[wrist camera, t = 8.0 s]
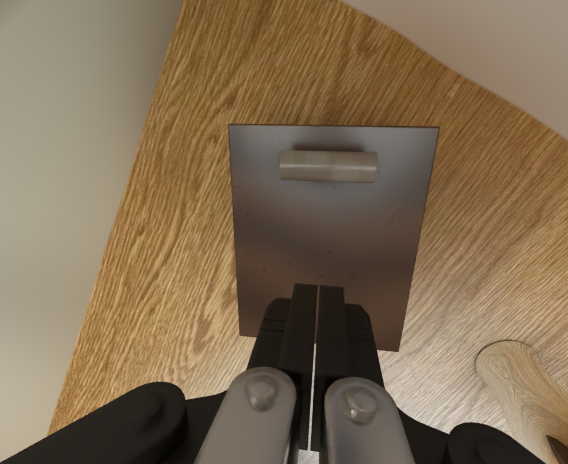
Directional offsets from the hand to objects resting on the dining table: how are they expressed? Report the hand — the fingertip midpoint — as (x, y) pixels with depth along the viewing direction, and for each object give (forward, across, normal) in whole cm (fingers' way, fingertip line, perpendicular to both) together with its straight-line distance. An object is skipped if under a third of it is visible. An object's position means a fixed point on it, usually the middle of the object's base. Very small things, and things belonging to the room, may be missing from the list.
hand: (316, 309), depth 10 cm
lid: (+12, 0, +3) cm, 12 cm away
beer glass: (+21, -21, +19) cm, 35 cm away
